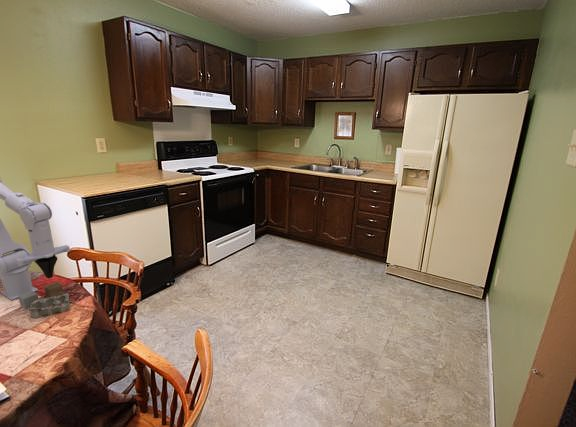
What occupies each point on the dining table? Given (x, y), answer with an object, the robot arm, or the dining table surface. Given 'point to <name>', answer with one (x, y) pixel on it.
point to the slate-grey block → (27, 299)
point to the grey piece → (41, 305)
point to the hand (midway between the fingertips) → (49, 277)
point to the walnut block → (53, 289)
